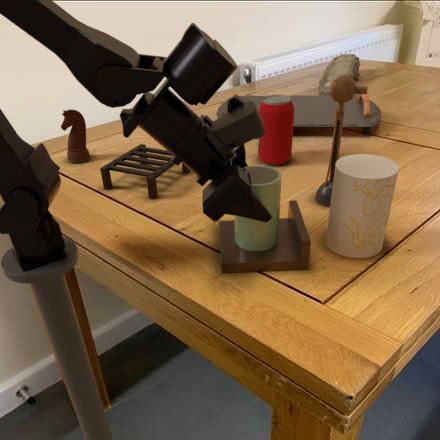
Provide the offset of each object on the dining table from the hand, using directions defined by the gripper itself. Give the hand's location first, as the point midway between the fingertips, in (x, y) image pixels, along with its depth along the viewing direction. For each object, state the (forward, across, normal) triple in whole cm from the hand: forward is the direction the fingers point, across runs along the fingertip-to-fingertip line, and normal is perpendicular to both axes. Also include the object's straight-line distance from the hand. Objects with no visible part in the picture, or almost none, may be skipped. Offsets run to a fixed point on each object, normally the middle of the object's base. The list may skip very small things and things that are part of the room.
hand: (266, 207), depth 65 cm
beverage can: (+8, +33, +1) cm, 34 cm away
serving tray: (+14, +56, -5) cm, 58 cm away
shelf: (+4, 0, +5) cm, 7 cm away
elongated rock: (+23, +86, -20) cm, 91 cm away
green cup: (+3, 0, +5) cm, 5 cm away
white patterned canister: (+14, 0, -4) cm, 15 cm away
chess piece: (-24, +38, +26) cm, 52 cm away
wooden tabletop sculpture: (+14, +14, -4) cm, 20 cm away
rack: (-9, +26, +19) cm, 33 cm away
